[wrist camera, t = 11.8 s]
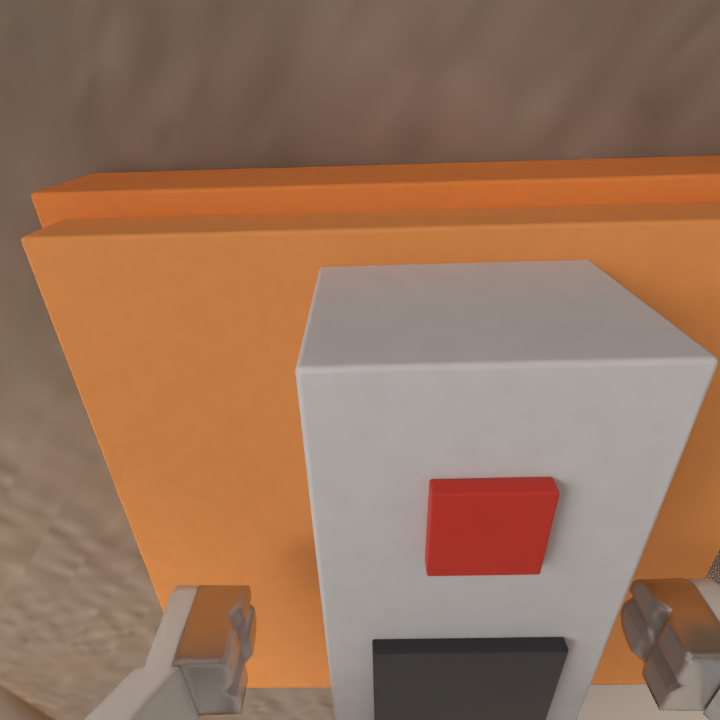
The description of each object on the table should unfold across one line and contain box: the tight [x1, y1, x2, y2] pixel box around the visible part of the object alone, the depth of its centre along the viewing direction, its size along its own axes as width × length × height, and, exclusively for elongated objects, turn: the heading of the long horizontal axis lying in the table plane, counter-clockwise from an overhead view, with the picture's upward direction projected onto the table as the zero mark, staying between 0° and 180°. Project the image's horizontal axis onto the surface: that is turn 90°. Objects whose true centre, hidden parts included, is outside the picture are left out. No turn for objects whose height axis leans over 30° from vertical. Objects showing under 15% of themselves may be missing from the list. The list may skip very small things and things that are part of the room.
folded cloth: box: [22, 155, 720, 688], centre depth 14 cm, size 16×16×4 cm
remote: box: [295, 260, 718, 720], centre depth 10 cm, size 14×5×4 cm, turn 2°
